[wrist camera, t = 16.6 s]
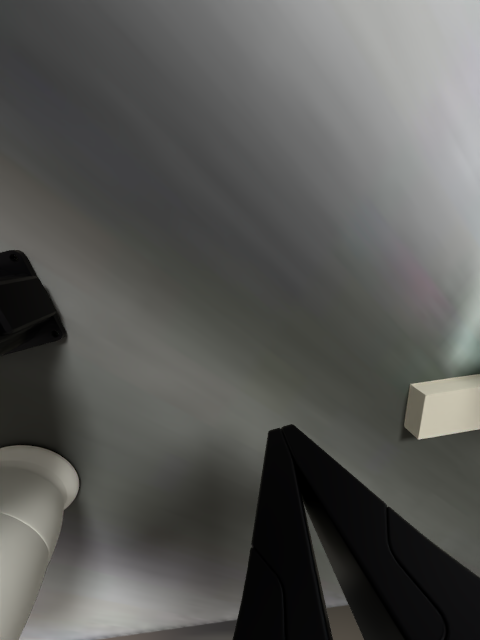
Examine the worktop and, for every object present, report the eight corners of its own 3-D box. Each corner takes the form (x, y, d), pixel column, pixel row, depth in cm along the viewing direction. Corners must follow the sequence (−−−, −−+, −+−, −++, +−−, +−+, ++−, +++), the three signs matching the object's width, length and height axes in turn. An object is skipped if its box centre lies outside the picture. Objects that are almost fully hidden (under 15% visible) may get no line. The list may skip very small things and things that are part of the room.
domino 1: (418, 439, 23) (512, 423, 24) (425, 395, 21) (526, 379, 22) (400, 423, 25) (488, 409, 26) (406, 381, 23) (499, 367, 24)
